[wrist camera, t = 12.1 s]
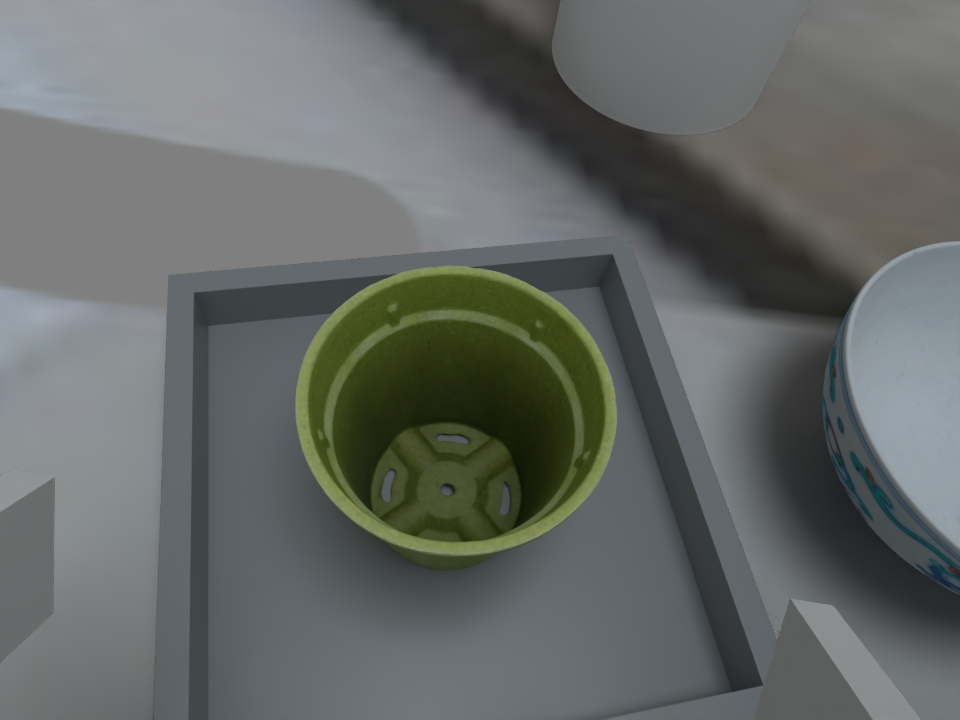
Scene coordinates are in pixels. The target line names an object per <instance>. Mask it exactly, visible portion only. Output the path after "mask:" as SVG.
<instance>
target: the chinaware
mask: <svg viewBox="0 0 960 720" xmlns="http://www.w3.org/2000/svg"><path fill="white" fill-rule="evenodd" d="M822 416H823V426H824V432H825V438H826V443H827V446H828V450H829V454H830V457H831V460H832V463H833V466H834V468H835V471H836V473H837V475H838V477H839V480H840V482H841V484H842V486H843V488H844V489H845V491H846V493H847V495H848V496H849V498H850V500H851V501H852V503H853V504H854V506H855V508H856V509H857V510H858V512H859V513H860V515H861V516H862V517H863V518H864V520H865V521H866V522H867V524H868V525H869V526H870V527H871V528H872V529H873V531H874V532H875V533H876V534H877V535H878V536H879V537H880V538H881V539H882V540H883V541H884V542H885V543H886V544H887V545H888V546H889V547H890V548H891V549H892V550H893V551H894V552H896V553H897V554H898V555H899V556H900V557H901V558H903V559H904V560H905V561H906V562H908V563H909V564H910V565H912V566H913V567H914V568H916V569H917V570H918V571H920V572H921V573H923V574H924V575H926V576H927V577H929V578H930V579H932V580H933V581H935V582H937V583H938V584H940V585H942V586H944V587H945V588H947V589H949V590H951V591H953V592H955V593H957V594H958V595H960V241H953V242H944V243H937V244H932V245H928V246H924V247H920V248H917V249H914V250H912V251H909V252H907V253H904V254H902V255H900V256H898V257H896V258H895V259H893V260H891V261H890V262H888V263H887V264H885V265H884V266H883V267H882V268H880V269H879V270H878V271H877V272H876V273H875V274H874V275H873V276H872V277H871V278H870V279H869V280H868V281H867V282H866V283H865V285H864V286H863V287H862V289H861V290H860V291H859V293H858V294H857V296H856V297H855V299H854V301H853V303H852V304H851V306H850V308H849V309H848V311H847V313H846V315H845V317H844V319H843V321H842V323H841V325H840V327H839V330H838V332H837V335H836V337H835V340H834V342H833V345H832V348H831V351H830V354H829V358H828V362H827V366H826V371H825V376H824V383H823V394H822Z"/></svg>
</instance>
